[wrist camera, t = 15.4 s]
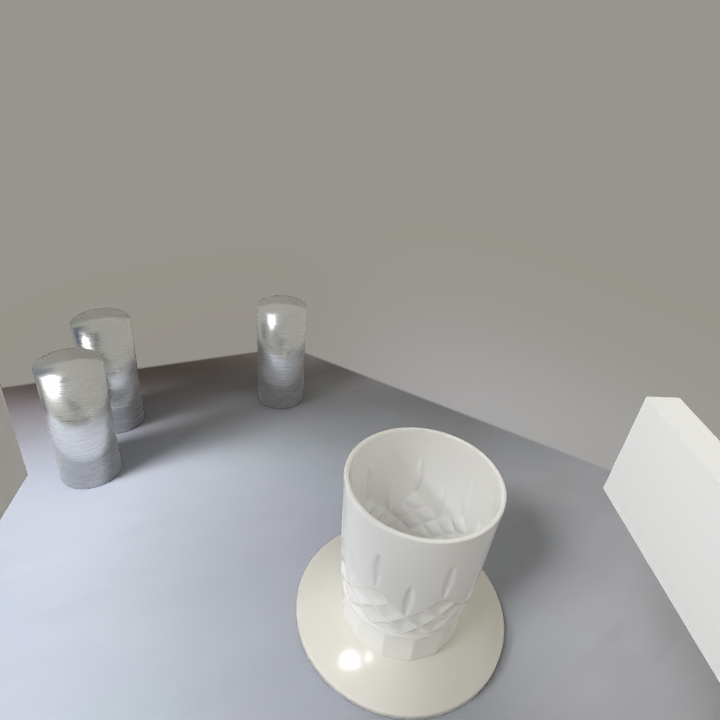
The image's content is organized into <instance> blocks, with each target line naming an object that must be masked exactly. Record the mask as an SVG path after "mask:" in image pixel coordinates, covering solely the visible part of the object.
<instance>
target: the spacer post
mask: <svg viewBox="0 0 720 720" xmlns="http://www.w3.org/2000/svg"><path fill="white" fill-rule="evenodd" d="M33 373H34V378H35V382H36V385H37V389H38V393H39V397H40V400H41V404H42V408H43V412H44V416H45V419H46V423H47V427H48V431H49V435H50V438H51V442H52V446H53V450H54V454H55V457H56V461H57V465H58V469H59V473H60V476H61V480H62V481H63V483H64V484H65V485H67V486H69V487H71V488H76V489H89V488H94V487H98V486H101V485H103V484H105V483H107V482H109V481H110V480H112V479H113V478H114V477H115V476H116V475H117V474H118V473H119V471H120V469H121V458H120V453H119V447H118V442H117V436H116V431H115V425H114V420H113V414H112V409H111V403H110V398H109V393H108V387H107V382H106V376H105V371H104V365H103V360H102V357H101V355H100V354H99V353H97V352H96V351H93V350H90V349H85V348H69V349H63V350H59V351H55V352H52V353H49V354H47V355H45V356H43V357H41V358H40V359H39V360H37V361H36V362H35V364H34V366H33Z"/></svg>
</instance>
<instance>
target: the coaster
mask: <svg viewBox="0 0 720 720" xmlns="http://www.w3.org/2000/svg"><path fill="white" fill-rule="evenodd" d="M341 547H342V538H341V534H340V535H338V536H337V537H335V538H334V539H332V540H331V541H329V542H328V543H327V544H326V545H324V546H323V547H322V548H321V549H320V550H319V551H318V552H317V553H316V554H315V556H314V557H313V558H312V560H311V561H310V563H309V564H308V566H307V567H306V569H305V571H304V574H303V576H302V578H301V582H300V585H299V588H298V595H297V604H296V620H297V627H298V633H299V637H300V640H301V643H302V646H303V649H304V651H305V653H306V655H307V657H308V659H309V661H310V662H311V664H312V666H313V667H314V669H315V670H316V672H317V673H318V674H319V675H320V676H321V678H322V679H323V680H324V681H325V682H326V683H327V684H328V685H329V686H330V687H331V688H332V689H333V690H334V691H335V692H336V693H338V694H339V695H340V696H342V697H343V698H345V699H346V700H348V701H349V702H351V703H353V704H354V705H356V706H358V707H360V708H362V709H364V710H367V711H369V712H372V713H375V714H378V715H381V716H386V717H390V718H395V719H409V720H413V719H427V718H431V717H436V716H440V715H443V714H446V713H448V712H451V711H454V710H456V709H457V708H459V707H461V706H463V705H464V704H466V703H467V702H469V701H470V700H471V699H472V698H473V697H475V696H476V695H477V694H478V693H479V692H480V691H481V690H482V688H483V687H484V686H485V685H486V684H487V682H488V680H489V679H490V677H491V676H492V674H493V672H494V670H495V667H496V665H497V662H498V660H499V657H500V654H501V650H502V646H503V640H504V619H503V613H502V609H501V604H500V602H499V599H498V596H497V593H496V591H495V589H494V587H493V585H492V583H491V581H490V580H489V578H488V577H487V575H486V574H485V572H484V571H483V570H481V572H480V575H479V577H478V579H477V581H476V583H475V586H474V589H473V591H472V594H471V596H470V598H469V600H468V602H467V604H466V606H465V608H464V609H463V611H462V613H461V616H460V618H459V621H458V624H457V627H456V630H455V632H454V635H453V636H452V637H451V639H450V640H449V641H448V642H447V643H446V644H445V645H444V646H443V647H442V648H441V649H440V650H439V651H438V652H437V653H436V654H433V655H429V656H426V657H422V658H419V659H415V660H412V661H406V660H400V659H395V658H389V657H384V656H381V655H379V654H378V653H376V652H375V651H373V650H372V649H370V648H369V647H367V646H366V645H364V644H363V643H361V642H360V641H359V640H358V639H357V638H356V636H355V635H354V633H353V631H352V630H351V628H350V626H349V625H348V623H347V621H346V620H345V618H344V612H343V598H342V583H343V578H342V575H341V561H342V559H341Z"/></svg>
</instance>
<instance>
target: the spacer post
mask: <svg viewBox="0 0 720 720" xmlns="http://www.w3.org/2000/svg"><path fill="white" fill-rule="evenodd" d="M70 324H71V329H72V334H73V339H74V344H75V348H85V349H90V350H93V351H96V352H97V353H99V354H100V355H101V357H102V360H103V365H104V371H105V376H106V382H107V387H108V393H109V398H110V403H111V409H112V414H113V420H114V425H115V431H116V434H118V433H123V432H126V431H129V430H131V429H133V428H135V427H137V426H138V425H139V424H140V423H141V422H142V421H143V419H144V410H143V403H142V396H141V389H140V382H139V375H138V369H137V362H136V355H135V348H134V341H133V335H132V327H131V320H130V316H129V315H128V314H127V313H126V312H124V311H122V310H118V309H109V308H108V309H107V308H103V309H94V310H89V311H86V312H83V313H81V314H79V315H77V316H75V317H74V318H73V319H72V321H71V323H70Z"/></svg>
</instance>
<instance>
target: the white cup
mask: <svg viewBox="0 0 720 720" xmlns="http://www.w3.org/2000/svg"><path fill="white" fill-rule="evenodd" d="M506 500H507V493H506V487H505V483H504V480H503V478H502V476H501V474H500V472H499V471H498V469H497V468H496V466H495V465H494V464H493V462H492V461H491V460H490V459H489V458H488V457H487V456H486V455H485V454H484V453H482V452H481V451H480V450H479V449H477V448H476V447H474V446H473V445H471V444H470V443H468V442H466V441H464V440H462V439H460V438H458V437H455V436H453V435H450V434H447V433H444V432H441V431H437V430H432V429H426V428H417V427H403V428H394V429H389V430H385V431H381V432H378V433H376V434H373V435H371V436H369V437H367V438H366V439H364V440H363V441H361V442H360V443H359V444H358V445H357V446H356V447H355V448H354V449H353V450H352V452H351V453H350V455H349V456H348V458H347V461H346V464H345V468H344V485H343V510H342V532H341V538H342V547H341V559H342V561H341V575H342V578H343V583H342V598H343V612H344V618H345V620H346V621H347V623H348V625H349V626H350V628H351V630H352V631H353V633H354V635H355V636H356V638H357V639H358V640H359V641H360V642H361V643H363V644H364V645H366V646H367V647H369V648H370V649H372V650H373V651H375V652H376V653H378V654H379V655H381V656H384V657H389V658H395V659H400V660H406V661H412V660H415V659H419V658H422V657H426V656H429V655H433V654H436V653H437V652H438V651H439V650H440V649H441V648H442V647H443V646H444V645H445V644H446V643H447V642H448V641H449V640H450V639H451V637H452V636H453V635H454V632H455V630H456V627H457V624H458V621H459V618H460V616H461V613H462V611H463V609H464V608H465V606H466V604H467V602H468V600H469V598H470V596H471V594H472V591H473V589H474V586H475V583H476V581H477V579H478V577H479V575H480V572H481V570H482V568H483V565H484V562H485V560H486V557H487V554H488V552H489V549H490V546H491V544H492V541H493V538H494V536H495V533H496V530H497V528H498V525H499V523H500V520H501V517H502V515H503V512H504V510H505V506H506Z"/></svg>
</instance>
